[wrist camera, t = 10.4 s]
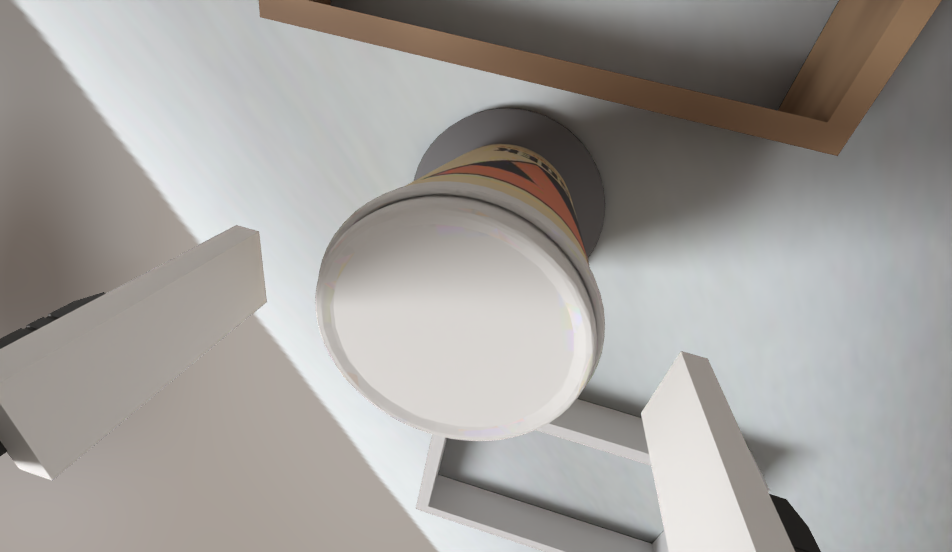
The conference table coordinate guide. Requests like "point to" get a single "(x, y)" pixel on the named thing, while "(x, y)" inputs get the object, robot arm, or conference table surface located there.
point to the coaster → (537, 137)
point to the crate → (796, 122)
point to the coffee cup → (465, 298)
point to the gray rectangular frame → (560, 537)
